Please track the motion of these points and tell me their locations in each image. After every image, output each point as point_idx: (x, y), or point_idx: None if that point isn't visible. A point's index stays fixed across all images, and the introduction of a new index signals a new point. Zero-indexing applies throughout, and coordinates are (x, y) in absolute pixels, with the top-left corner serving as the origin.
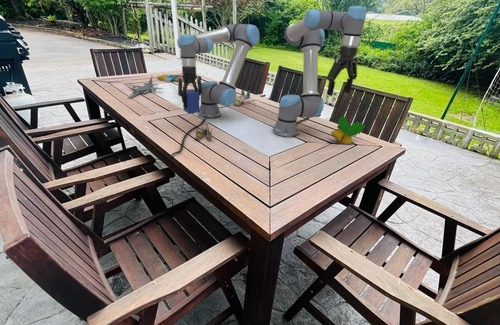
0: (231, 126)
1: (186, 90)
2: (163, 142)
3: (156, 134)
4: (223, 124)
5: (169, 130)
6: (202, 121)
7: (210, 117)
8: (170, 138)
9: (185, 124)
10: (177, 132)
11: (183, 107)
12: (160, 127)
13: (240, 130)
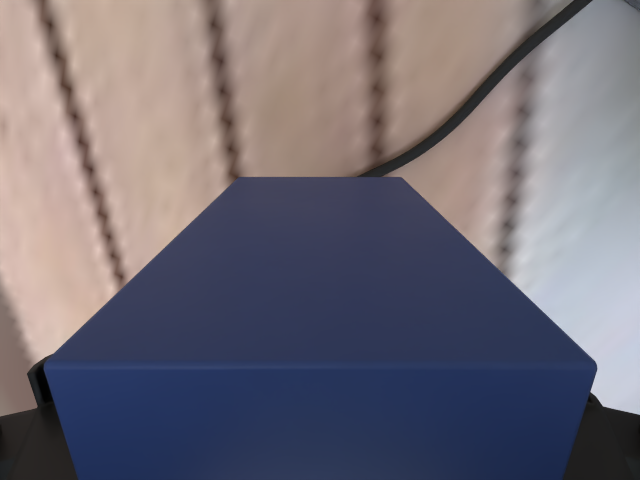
0: (613, 283)
1: (222, 437)
2: (49, 303)
3: (16, 151)
4: (598, 219)
5: (135, 121)
6: (486, 86)
7: (637, 4)
8: (107, 269)
9: (317, 49)
10: (186, 193)
11: (228, 188)
12: (71, 3)
13: (601, 367)
